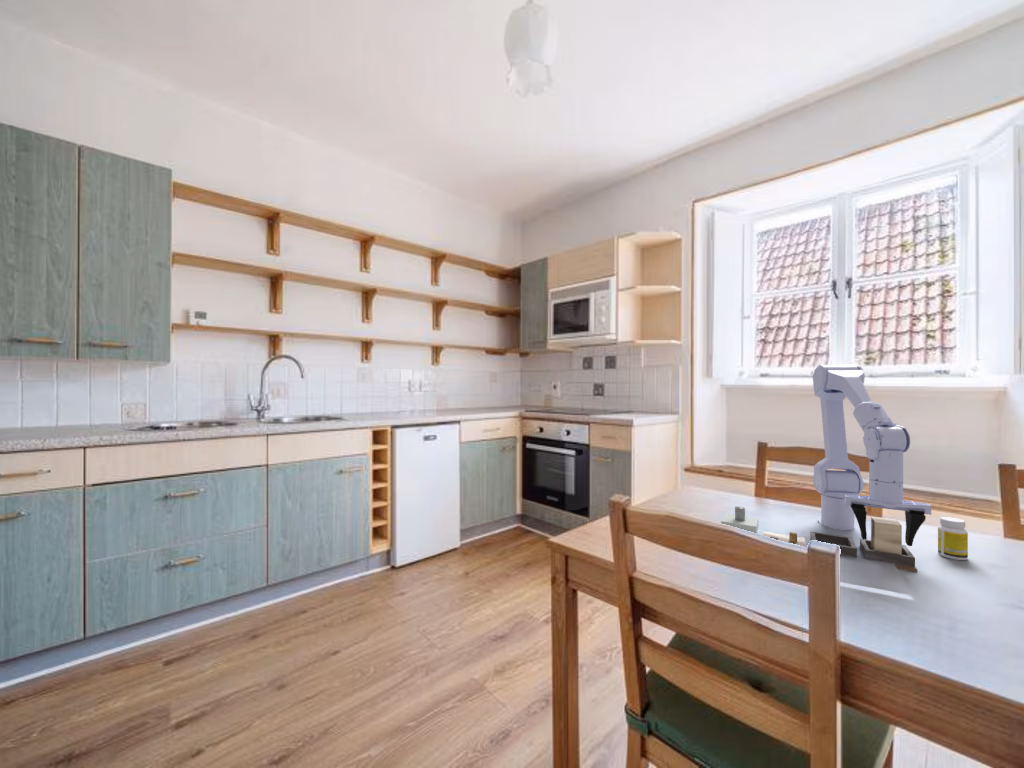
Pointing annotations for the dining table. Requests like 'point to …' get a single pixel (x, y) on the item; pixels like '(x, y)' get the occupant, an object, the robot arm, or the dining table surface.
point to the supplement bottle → (952, 538)
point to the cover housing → (741, 520)
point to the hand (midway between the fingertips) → (885, 541)
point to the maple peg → (886, 535)
